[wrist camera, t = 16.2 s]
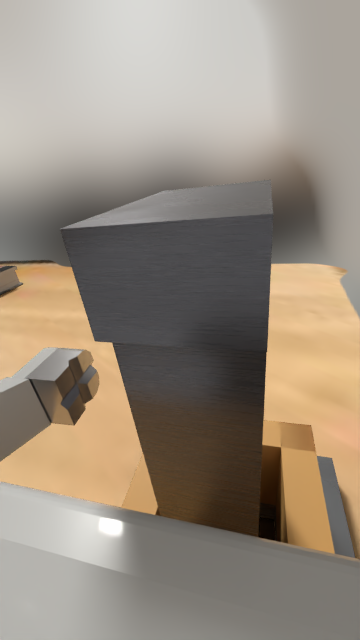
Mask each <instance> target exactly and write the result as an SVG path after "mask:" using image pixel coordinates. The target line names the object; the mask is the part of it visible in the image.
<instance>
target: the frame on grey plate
mask: <svg viewBox="0 0 360 640" xmlns="http://www.w3.org/2000/svg"><path fill="white" fill-rule="evenodd" d="M121 508H125V509H130V510H135V511H139V512H144V513H149V514H153V515H158V516H160V512H159V509H158V505H157V502H156V498H155V494H154V491H153V487H152V484H151V480H150V476H149V473H148V469H147V466H146V462H145V458H144V455H143V454H142V456H141V459H140V461H139V464H138V466H137V469H136V471H135V474H134V477H133V479H132V482H131V484H130V487H129V489H128V492H127V494H126V497H125V499H124V502H123V504H122V507H121ZM259 517H264V518H269V519H274V522H275V541H278V542H283V543H287V544H292V545H296V546H301V547H306V548H310V549H315V550H320V551H324V552H329V553H333V554H338V555H343V556H347V557H352V558H355V554H354V550H353V546H352V541H351V537H350V533H349V529H348V524H347V520H346V516H345V512H344V507H343V503H342V499H341V495H340V490H339V486H338V482H337V478H336V473H335V469H334V465H333V461H332V458H328V457H320V456H317V455H316V450H315V444H314V439H313V433H312V428H311V425H303V424H294V423H285V422H276V421H267V420H263V441H262V464H261V487H260V510H259Z"/></svg>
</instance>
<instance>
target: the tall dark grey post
mask: <svg viewBox="0 0 360 640" xmlns="http://www.w3.org/2000/svg"><path fill="white" fill-rule="evenodd" d="M272 227H273V205H272V193H271V180H264V181H255V182H245V183H236V184H226V185H216V186H207V187H197V188H188V189H178V190H169V191H163V192H160V193H157V194H154V195H152V196H149V197H146V198H143V199H141V200H138V201H135V202H132V203H130V204H127V205H124V206H122V207H119V208H116V209H113V210H111V211H108V212H106V213H103V214H100V215H97V216H94V217H92V218H89V219H86V220H84V221H81V222H78V223H75V224H72V225H70V226H67V227H64V228H62V229H60V231H61V234H62V237H63V240H64V243H65V247H66V250H67V253H68V256H69V260H70V263H71V266H72V269H73V272H74V276H75V279H76V282H77V285H78V288H79V292H80V295H81V298H82V301H83V304H84V308H85V311H86V314H87V317H88V320H89V324H90V327H91V330H92V333H93V336H94V340H95V341H98V342H112V343H113V347H114V350H115V354H116V358H117V361H118V365H119V368H120V372H121V376H122V379H123V383H124V386H125V390H126V394H127V397H128V401H129V404H130V408H131V412H132V415H133V419H134V422H135V426H136V430H137V433H138V437H139V440H140V444H141V448H142V451H143V455H144V458H145V462H146V466H147V469H148V473H149V476H150V480H151V484H152V487H153V491H154V494H155V498H156V502H157V505H158V509H159V512H160V516H163V517H167V518H172V519H176V520H181V521H186V522H190V523H195V524H200V525H204V526H209V527H213V528H218V529H223V530H227V531H232V532H237V533H241V534H246V535H250V536H255V537H258V534H259V510H260V487H261V464H262V441H263V418H264V395H265V372H266V352H267V341H268V318H269V296H270V274H271V250H272V229H273V228H272Z"/></svg>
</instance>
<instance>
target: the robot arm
mask: <svg viewBox="0 0 360 640" xmlns="http://www.w3.org/2000/svg"><path fill="white" fill-rule="evenodd" d="M93 361H94V360H93V358H92V355H91V352H89V351H87V350H81V349H68V348H52V347H48V348H44V349H43V350H42V351H40V352H39V353H38V354H37V355H36V356H35V357H34V358H33V359H31V360H30V361H29V362H28V363H27V364H26V365H25V366H24V367H22V368H21V369H20V370H19V371H18V372H17V373H16V374H14V375H13V376H12V377H11V378H9V377H7V378H4V379H2V380H0V461H2V460H3V459H4V458H6V457H7V456H9V455H10V454H11V453H13V452H14V451H15V450H17V449H18V448H19V447H21V446H22V445H24V444H25V443H26V442H28V441H29V440H30V439H32V438H33V437H34V436H36V435H37V434H39V433H40V432H41V431H43V430H44V429H45V428H47V427H48V426H49V425H51V423H55V424H64V425H75V424H76V422H77V421H78V419H79V418H80V416H81V415H82V414H83V412H84V411H85V403H87V402H88V401H90V400H91V399H93V397H94V396H95V394H96V393H97V390H98V386H99V375H98V372H97V370H96V369H95V368H94V367H92V366H91V365H92V363H93ZM0 640H360V559H356V558H352V557H347V556H343V555H338V554H333V553H329V552H324V551H320V550H315V549H310V548H306V547H301V546H296V545H292V544H287V543H283V542H278V541H273V540H269V539H264V538H260V537H255V536H250V535H246V534H241V533H237V532H232V531H227V530H223V529H218V528H213V527H209V526H204V525H200V524H195V523H190V522H186V521H181V520H176V519H172V518H167V517H163V516H158V515H153V514H149V513H144V512H139V511H135V510H130V509H125V508H121V507H116V506H111V505H107V504H102V503H97V502H93V501H88V500H84V499H79V498H74V497H70V496H65V495H60V494H56V493H51V492H47V491H42V490H37V489H33V488H28V487H23V486H19V485H14V484H9V483H5V482H0Z"/></svg>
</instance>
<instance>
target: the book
mask: <svg viewBox="0 0 360 640" xmlns="http://www.w3.org/2000/svg"><path fill="white" fill-rule="evenodd" d="M16 269H17V267H16V266H0V295H2V294H4V293H6V292H8V291H10V290H12V289H14V288H16V287H18V286H20V285H22V284H23V283H20V282H19V279H18V277H17V275H16V272H15V270H16Z"/></svg>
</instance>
